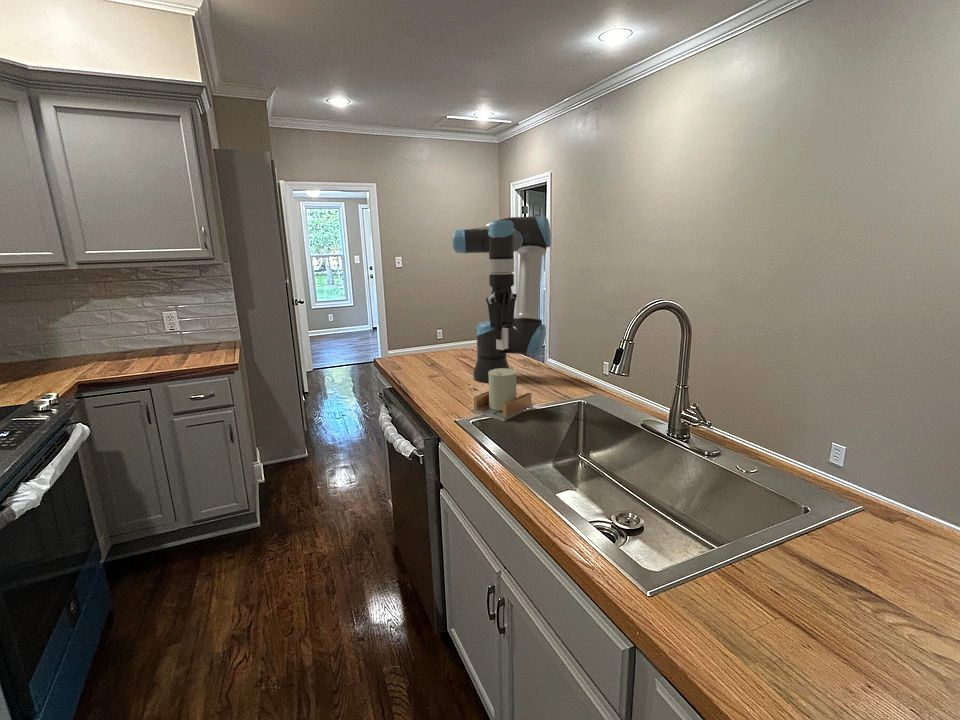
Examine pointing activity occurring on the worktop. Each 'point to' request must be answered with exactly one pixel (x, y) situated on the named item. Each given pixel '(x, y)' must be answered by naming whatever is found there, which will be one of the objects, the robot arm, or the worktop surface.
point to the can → (501, 387)
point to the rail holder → (509, 407)
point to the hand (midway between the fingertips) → (502, 348)
